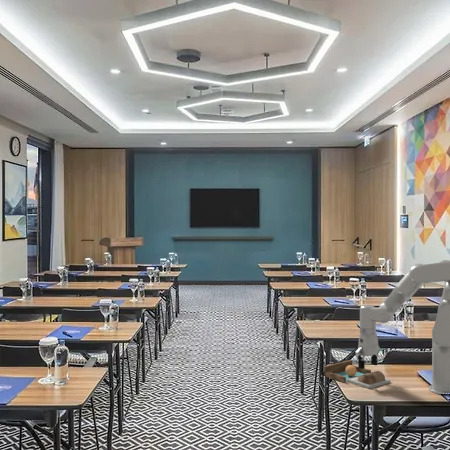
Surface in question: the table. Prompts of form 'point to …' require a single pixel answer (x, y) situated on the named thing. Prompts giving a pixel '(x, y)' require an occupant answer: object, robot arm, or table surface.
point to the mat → (349, 376)
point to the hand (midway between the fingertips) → (367, 366)
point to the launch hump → (371, 377)
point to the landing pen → (341, 370)
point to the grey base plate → (354, 381)
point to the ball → (351, 370)
